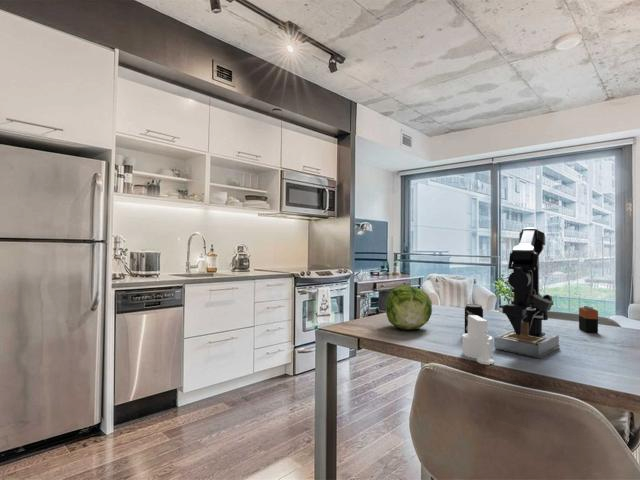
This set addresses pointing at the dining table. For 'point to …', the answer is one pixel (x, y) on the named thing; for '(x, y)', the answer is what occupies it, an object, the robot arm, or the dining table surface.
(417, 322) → the lettuce
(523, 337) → the box
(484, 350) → the chess piece
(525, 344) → the bay
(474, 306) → the beverage can
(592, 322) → the battery
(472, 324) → the white stepped block
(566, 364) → the dining table surface
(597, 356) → the dining table surface
